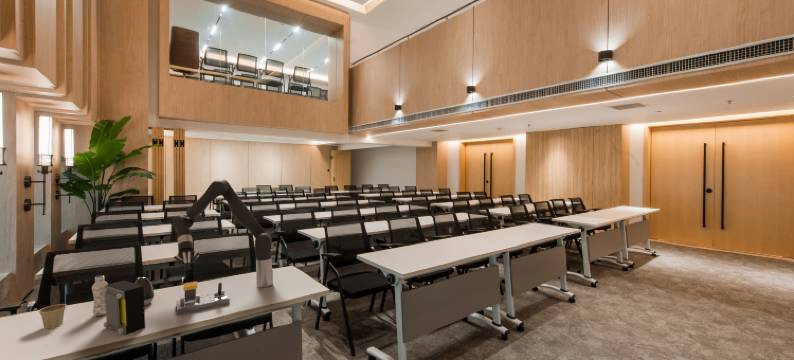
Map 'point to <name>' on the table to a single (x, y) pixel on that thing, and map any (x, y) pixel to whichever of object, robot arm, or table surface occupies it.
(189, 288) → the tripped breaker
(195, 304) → the grey lever switch
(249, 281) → the table surface
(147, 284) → the dark grey ridged ovoid
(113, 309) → the electrical component
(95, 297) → the plastic bottle
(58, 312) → the flower pot
